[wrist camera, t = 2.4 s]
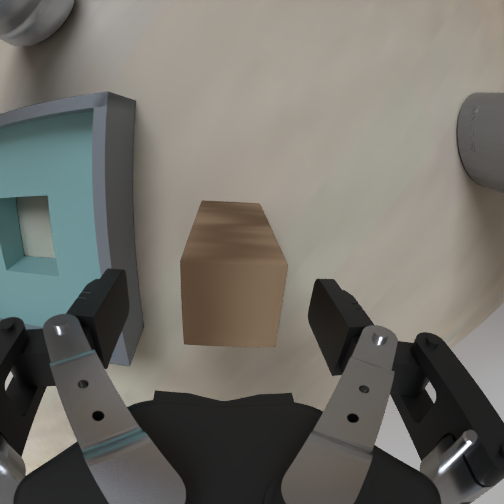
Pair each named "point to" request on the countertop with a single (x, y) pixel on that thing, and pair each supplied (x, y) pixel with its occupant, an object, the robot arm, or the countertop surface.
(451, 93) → the countertop surface
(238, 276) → the peg
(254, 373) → the countertop surface
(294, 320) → the countertop surface
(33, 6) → the plastic bottle
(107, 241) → the box
